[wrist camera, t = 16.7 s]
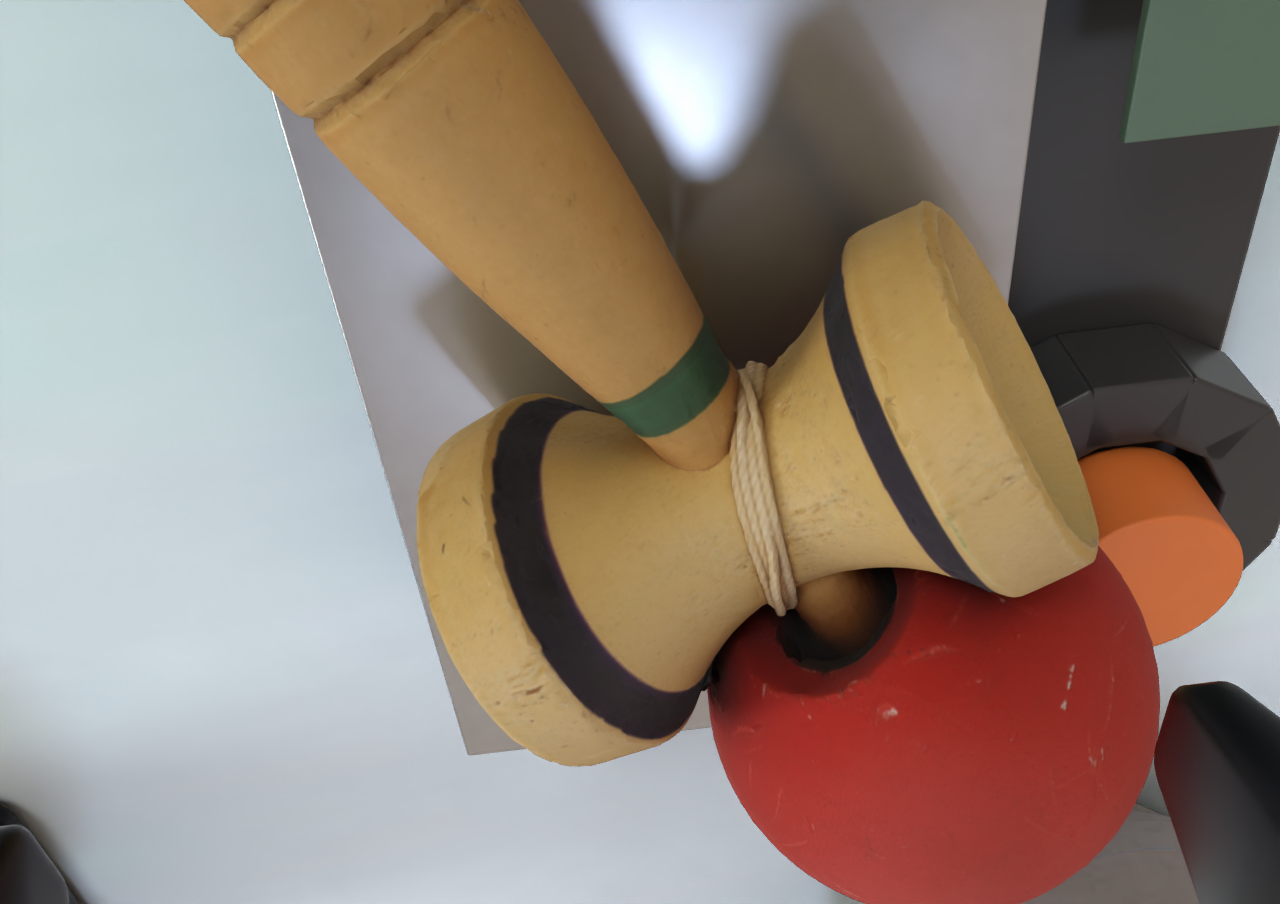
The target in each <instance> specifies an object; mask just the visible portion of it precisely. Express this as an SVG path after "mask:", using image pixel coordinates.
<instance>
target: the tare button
mask: <svg viewBox="0 0 1280 904" xmlns="http://www.w3.org/2000/svg"><path fill="white" fill-rule="evenodd" d="M1077 461H1078V463H1079V466H1080V468H1081V471H1082V474H1083V476H1084V479H1085V481H1086V485H1087V488H1088V493H1089V495H1090V498H1091V503H1092V506H1093V510H1094V513H1095V517H1096V521H1097V526H1098V530H1099V537H1098V538H1099V544H1098V545H1099V546H1100V548H1101V549H1102V550H1103V551H1104V552H1105V554H1106V555H1107V556H1108V557H1109V559H1110V560H1111V561H1112V563H1113V564H1114V566H1115V567H1116V568H1117V570H1118V571H1119V572H1120V574H1121V575H1122V577H1123V579H1124V581H1125V582H1126V584H1127V585H1128V587H1129V589H1130V591H1131V593H1132V594H1133V596H1134V598H1135V600H1136V602H1137V604H1138V606H1139V608H1140V610H1141V612H1142V615H1143V618H1144V620H1145V623H1146V626H1147V629H1148V632H1149V635H1150V637H1151V640H1152V642H1153V646H1156V645H1159V644H1162V643H1166V642H1168V641H1170V640H1173V639H1175V638H1178V637H1180V636H1182V635H1184V634H1186V633H1188V632H1189V631H1191V630H1193V629H1194V628H1196V627H1198V626H1199V625H1201V624H1202V623H1203V622H1205V621H1206V620H1208V619H1209V618H1210V617H1211V616H1212V615H1214V614H1215V613H1216V612H1217V611H1218V610H1219V609H1220V608H1221V607H1222V606H1223V605H1224V604H1225V603H1226V601H1227V600H1228V599H1229V598H1230V596H1231V595H1232V593H1233V592H1234V590H1235V588H1236V587H1237V585H1238V582H1239V580H1240V578H1241V574H1242V570H1243V552H1242V548H1241V545H1240V542H1239V541H1238V539H1237V537H1236V536H1235V534H1234V533H1233V532H1232V530H1231V529H1230V527H1229V526H1228V524H1227V523H1226V522H1225V520H1224V519H1223V517H1222V516H1221V514H1220V513H1219V512H1218V510H1217V509H1216V507H1215V506H1214V505H1213V503H1212V502H1211V500H1210V499H1209V497H1208V496H1207V495H1206V493H1205V492H1204V490H1203V489H1202V487H1201V486H1200V485H1199V483H1198V482H1197V480H1196V479H1195V477H1194V476H1193V475H1192V473H1191V472H1190V470H1189V469H1188V467H1187V466H1186V465H1185V464H1184V463H1183V462H1182V461H1180V460H1179V459H1177V458H1176V457H1174V456H1172V455H1170V454H1168V453H1166V452H1164V451H1160V450H1157V449H1154V448H1147V447H1136V446H1129V447H1118V448H1112V449H1106V450H1103V451H1099V452H1095V453H1092V454H1090V455H1087V456H1084V457H1082V458H1080V459H1078V460H1077Z"/></svg>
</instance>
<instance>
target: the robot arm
mask: <svg viewBox="0 0 1280 904" xmlns="http://www.w3.org/2000/svg"><path fill="white" fill-rule="evenodd" d="M1154 765H1155V771H1156V776H1157V780H1158V783H1159V786H1160V789H1161V792H1162V795H1163V798H1164V801H1165V804H1166V806H1167V809H1168V812H1169V815H1170V818H1171V821H1172V824H1173V827H1174V830H1175V833H1176V836H1177V839H1178V842H1179V845H1180V848H1181V851H1182V854H1183V857H1184V860H1185V863H1186V865H1187V868H1188V871H1189V874H1190V877H1191V880H1192V883H1193V886H1194V889H1195V892H1196V895H1197V898H1198V901H1199V904H1280V717H1278V716H1277V715H1276V714H1274V713H1273V712H1272V711H1271V710H1269V709H1268V708H1267V707H1265V706H1264V705H1263V704H1261V703H1260V702H1259V701H1257V700H1256V699H1255V698H1253V697H1252V696H1251V695H1249V694H1248V693H1247V692H1245V691H1244V690H1243V689H1241V688H1240V687H1238V686H1236V685H1234V684H1232V683H1229V682H1223V681H1217V682H1208V683H1200V684H1192V685H1184V686H1180V687H1179V688H1177V689H1176V690H1175V691H1174V692H1173V693H1172V695H1171V698H1170V701H1169V704H1168V707H1167V710H1166V713H1165V717H1164V720H1163V723H1162V726H1161V730H1160V733H1159V736H1158V739H1157V743H1156V746H1155V751H1154ZM0 904H80V903H79V902H78V901H77V899H76V898H75V897H74V895H73V894H72V893H71V891H70V890H69V889H68V887H67V886H66V883H65V880H64V878H63V876H62V875H61V873H60V872H59V871H58V869H57V868H56V866H55V865H54V864H53V862H52V861H51V859H50V858H49V857H48V855H47V854H46V852H45V851H44V850H43V848H42V847H41V846H40V844H39V843H38V841H37V840H36V839H35V837H34V836H33V834H32V833H31V832H30V831H29V830H28V829H27V828H25V827H23V826H22V825H21V823H20V822H19V821H18V819H17V818H16V816H15V815H14V814H13V813H12V812H11V811H10V810H9V809H8V808H6V807H4V806H2V805H0Z"/></svg>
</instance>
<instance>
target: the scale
mask: <svg viewBox="0 0 1280 904" xmlns="http://www.w3.org/2000/svg"><path fill="white" fill-rule="evenodd" d="M1142 5H1143V0H1047V6H1046V14H1045V21H1044V29H1043V37H1042V45H1041V52H1040V60H1039V68H1038V76H1037V84H1036V91H1035V99H1034V107H1033V115H1032V122H1031V130H1030V138H1029V146H1028V153H1027V161H1026V169H1025V177H1024V185H1023V192H1022V200H1021V208H1020V216H1019V223H1018V231H1017V239H1016V247H1015V254H1014V262H1013V270H1012V278H1011V286H1010V293H1009V301H1008V307H1009V309H1010V311H1011V312H1012V314H1013V315H1014V317H1015V319H1016V322H1017V324H1018V326H1019V328H1020V330H1021V331H1022V333H1023V335H1024V337H1025V339H1026V341H1027V343H1028V345H1029V346H1030V349H1031V351H1032V353H1033V355H1034V357H1035V360H1036V362H1037V364H1038V366H1039V369H1040V371H1041V373H1042V375H1043V377H1044V379H1045V381H1046V383H1047V385H1048V388H1049V390H1050V393H1051V395H1052V397H1053V400H1054V402H1055V405H1056V407H1057V410H1058V412H1059V414H1060V416H1061V418H1062V421H1063V423H1064V426H1065V428H1066V430H1067V433H1068V435H1069V437H1070V440H1071V443H1072V446H1073V448H1074V451H1075V454H1076V457H1077V460H1078V459H1080V458H1082V457H1084V456H1087V455H1090V454H1092V453H1095V452H1099V451H1103V450H1106V449H1112V448H1118V447H1129V446H1136V447H1147V448H1154V449H1157V450H1160V451H1164V452H1166V453H1168V454H1170V455H1172V456H1174V457H1176V458H1177V459H1179V460H1180V461H1182V462H1183V463H1184V464H1185V465H1186V466H1187V467H1188V469H1189V470H1190V472H1191V473H1192V475H1193V476H1194V477H1195V479H1196V480H1197V482H1198V483H1199V485H1200V486H1201V487H1202V489H1203V490H1204V492H1205V493H1206V495H1207V496H1208V497H1209V499H1210V500H1211V502H1212V503H1213V505H1214V506H1215V507H1216V509H1217V510H1218V512H1219V513H1220V514H1221V516H1222V517H1223V519H1224V520H1225V522H1226V523H1227V524H1228V526H1229V527H1230V529H1231V530H1232V532H1233V533H1234V534H1235V536H1236V537H1237V539H1238V541H1239V542H1240V545H1241V548H1242V552H1243V570H1244V569H1245V568H1246V567H1247V566H1248V565H1249V564H1250V563H1251V562H1252V561H1253V560H1255V559H1256V558H1257V557H1258V556H1259V555H1260V554H1261V553H1262V552H1263V551H1264V550H1265V549H1266V548H1267V547H1268V546H1269V545H1270V544H1271V542H1272V539H1274V538H1275V536H1276V533H1277V530H1278V528H1279V525H1280V424H1279V422H1278V420H1277V417H1276V415H1275V413H1274V411H1273V409H1272V408H1271V407H1270V405H1269V404H1268V403H1267V402H1266V401H1265V399H1264V398H1263V397H1262V396H1261V395H1260V393H1259V392H1258V391H1257V390H1256V389H1255V388H1254V386H1253V385H1252V384H1251V383H1250V382H1249V380H1248V379H1247V378H1246V377H1245V376H1244V375H1243V373H1242V372H1241V371H1240V370H1239V369H1238V367H1237V366H1236V365H1235V364H1234V363H1233V362H1232V360H1231V359H1230V358H1229V357H1228V356H1227V355H1226V354H1225V353H1223V352H1221V351H1220V350H1221V346H1222V342H1223V339H1224V335H1225V331H1226V327H1227V324H1228V320H1229V316H1230V313H1231V309H1232V305H1233V302H1234V298H1235V294H1236V291H1237V287H1238V283H1239V279H1240V276H1241V272H1242V268H1243V265H1244V261H1245V257H1246V254H1247V250H1248V246H1249V242H1250V239H1251V235H1252V231H1253V228H1254V224H1255V220H1256V217H1257V213H1258V209H1259V206H1260V202H1261V198H1262V194H1263V191H1264V187H1265V183H1266V180H1267V176H1268V172H1269V169H1270V165H1271V161H1272V157H1273V154H1274V150H1275V146H1276V143H1277V139H1278V135H1279V132H1280V125H1279V126H1271V127H1262V128H1253V129H1245V130H1236V131H1227V132H1219V133H1210V134H1202V135H1193V136H1184V137H1176V138H1167V139H1159V140H1150V141H1141V142H1133V143H1124V142H1123V141H1122V140H1121V139H1120V138H1119V133H1120V128H1121V122H1122V117H1123V111H1124V106H1125V100H1126V94H1127V89H1128V83H1129V78H1130V72H1131V67H1132V61H1133V55H1134V50H1135V44H1136V39H1137V33H1138V28H1139V22H1140V17H1141V11H1142ZM1243 570H1242V571H1243Z"/></svg>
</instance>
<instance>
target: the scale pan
mask: <svg viewBox="0 0 1280 904" xmlns="http://www.w3.org/2000/svg"><path fill="white" fill-rule="evenodd" d="M518 1H519V2H520V4H521V5H522V7H523V8H524V10H525V11H526V13H527V14H528V16H529V17H530V19H531V21H532V22H533V24H534V25H535V27H536V28H537V30H538V31H539V33H540V34H541V36H542V37H543V39H544V40H545V42H546V43H547V45H548V46H549V48H550V49H551V51H552V53H553V54H554V56H555V57H556V59H557V60H558V62H559V64H560V65H561V67H562V68H563V70H564V71H565V73H566V74H567V76H568V78H569V79H570V81H571V82H572V84H573V86H574V87H575V89H576V91H577V92H578V94H579V95H580V97H581V99H582V100H583V102H584V104H585V105H586V107H587V108H588V110H589V111H590V113H591V115H592V116H593V118H594V120H595V122H596V123H597V125H598V127H599V128H600V130H601V132H602V134H603V135H604V137H605V138H606V140H607V142H608V143H609V145H610V147H611V149H612V151H613V152H614V154H615V155H616V157H617V158H618V160H619V162H620V163H621V165H622V167H623V168H624V171H625V173H626V174H627V176H628V178H629V179H630V181H631V183H632V184H633V186H634V187H635V189H636V191H637V193H638V195H639V197H640V198H641V200H642V202H643V204H644V205H645V207H646V209H647V210H648V212H649V214H650V216H651V218H652V220H653V221H654V223H655V225H656V227H657V229H658V230H659V232H660V233H661V235H662V237H663V239H664V242H665V244H666V246H667V248H668V250H669V252H670V253H671V255H672V257H673V258H674V260H675V262H676V264H677V265H678V267H679V269H680V271H681V273H682V275H683V277H684V279H685V280H686V282H687V284H688V286H689V287H690V289H691V291H692V293H693V295H694V297H695V299H696V301H697V303H698V305H699V307H700V308H701V310H702V311H703V313H704V315H705V316H706V318H707V320H708V322H709V325H710V326H711V329H712V331H713V333H714V334H715V337H716V339H717V342H718V345H719V347H720V349H721V350H722V352H723V353H724V354H725V356H726V357H727V358H728V359H729V360H730V361H731V362H732V364H733V365H734V367H735V369H737V370H739V369H744V368H745V367H746V364H747V363H748V361H754V362H756V363H763V364H765V365H767V367H768V368H770V367H771V366H773V365H774V364H775V362H776V360H777V359H778V357H779V356H781V355H782V354H783V353H784V352H785V351H786V350H787V348H788V347H789V346H790V345H791V344H792V343H793V342H795V341H796V340H797V338H798V337H799V336H800V335H801V333H802V332H803V331H804V330H805V328H806V326H807V325H808V323H809V322H810V320H811V319H812V317H813V316H814V314H815V313H816V311H817V309H818V307H819V306H820V303H821V301H822V299H823V297H824V295H825V293H826V290H827V288H828V286H829V285H830V282H831V280H832V278H833V275H834V273H835V270H836V267H837V265H838V262H839V260H840V257H841V255H842V253H843V250H844V246H845V244H846V242H847V240H848V238H850V237H851V236H852V235H854V234H855V233H856V232H858V231H859V230H861V229H863V228H865V227H867V226H869V225H872V224H874V223H876V222H878V221H880V220H883V219H885V218H888V217H890V216H892V215H894V214H897V213H899V212H902V211H904V210H906V209H908V208H910V207H914V206H916V205H918V204H919V203H920V202H921V201H922V200H923V201H927V202H929V201H931V202H932V203H933V204H934V205H935V206H938V207H940V208H942V209H943V210H945V212H946V213H948V214H949V215H950V216H951V217H952V218H953V220H954V221H955V222H956V223H957V225H958V226H959V227H960V228H961V230H962V231H963V233H964V234H965V236H966V237H967V239H968V240H969V241H970V243H971V244H972V246H973V247H974V248H975V250H976V252H977V255H978V257H979V258H980V259H981V260H982V262H983V263H984V265H985V267H986V268H987V269H988V271H989V272H990V274H991V276H992V277H993V279H994V280H995V282H996V284H997V286H998V288H999V290H1000V293H1001V295H1002V296H1003V297H1004V298H1005V300H1006V302H1007V304H1008V301H1009V293H1010V286H1011V278H1012V270H1013V262H1014V254H1015V247H1016V239H1017V231H1018V223H1019V216H1020V208H1021V200H1022V192H1023V185H1024V177H1025V169H1026V161H1027V153H1028V146H1029V138H1030V130H1031V122H1032V115H1033V107H1034V99H1035V91H1036V84H1037V76H1038V68H1039V60H1040V52H1041V45H1042V37H1043V29H1044V21H1045V14H1046V6H1047V0H518ZM270 90H271V89H270ZM271 93H272V96H273V100H274V103H275V107H276V110H277V113H278V117H279V120H280V123H281V127H282V130H283V134H284V137H285V140H286V144H287V147H288V150H289V154H290V157H291V160H292V164H293V167H294V171H295V174H296V177H297V181H298V184H299V187H300V191H301V194H302V198H303V201H304V204H305V208H306V211H307V214H308V218H309V221H310V225H311V228H312V231H313V235H314V238H315V241H316V245H317V248H318V252H319V255H320V258H321V262H322V265H323V268H324V272H325V275H326V279H327V282H328V285H329V289H330V292H331V295H332V299H333V302H334V306H335V309H336V312H337V316H338V319H339V322H340V326H341V329H342V333H343V336H344V339H345V343H346V346H347V349H348V353H349V356H350V359H351V363H352V366H353V370H354V373H355V376H356V380H357V383H358V386H359V390H360V393H361V397H362V400H363V403H364V407H365V410H366V413H367V417H368V420H369V424H370V427H371V430H372V434H373V437H374V440H375V444H376V447H377V451H378V454H379V457H380V461H381V464H382V467H383V471H384V474H385V478H386V481H387V484H388V488H389V491H390V494H391V498H392V501H393V505H394V508H395V511H396V515H397V518H398V521H399V525H400V528H401V531H402V535H403V538H404V542H405V545H406V548H407V552H408V555H409V558H410V562H411V565H412V569H413V572H414V575H415V579H416V582H417V585H418V589H419V592H420V596H421V599H422V602H423V606H424V609H425V612H426V616H427V619H428V623H429V626H430V629H431V633H432V636H433V639H434V643H435V646H436V650H437V653H438V656H439V660H440V663H441V666H442V670H443V673H444V677H445V680H446V683H447V687H448V690H449V693H450V697H451V700H452V704H453V707H454V710H455V714H456V717H457V720H458V724H459V727H460V730H461V734H462V737H463V741H464V744H465V747H466V751H467V754H468V755H477V754H486V753H494V752H503V751H511V750H520V749H527V748H525V747H524V746H522V745H520V744H519V743H517V742H515V741H514V740H512V739H511V738H510V737H509V736H508V735H507V734H506V733H505V732H504V731H503V730H502V729H501V728H500V727H499V726H498V725H497V724H496V723H495V722H494V721H493V719H492V718H491V717H490V716H489V715H488V713H487V712H486V711H485V710H484V709H483V707H482V706H481V705H480V704H479V702H478V701H477V699H476V698H475V697H474V695H473V694H472V692H471V690H470V689H469V688H468V686H467V685H466V683H465V682H464V680H463V678H462V677H461V675H460V673H459V672H458V670H457V668H456V667H455V665H454V663H453V661H452V660H451V658H450V656H449V654H448V652H447V649H446V647H445V644H444V642H443V640H442V637H441V635H440V633H439V631H438V628H437V625H436V622H435V620H434V617H433V615H432V612H431V608H430V605H429V601H428V598H427V594H426V591H425V588H424V585H423V580H422V576H421V570H420V564H419V558H418V550H417V503H418V491H419V488H420V484H421V481H422V477H423V474H424V472H425V469H426V467H427V465H428V463H429V461H430V460H431V458H432V457H433V455H434V454H435V452H436V451H437V450H438V448H439V447H440V446H441V445H442V444H443V443H444V442H445V441H446V440H448V439H449V438H450V437H451V436H452V435H454V434H455V433H457V432H458V431H460V430H461V429H463V428H464V427H466V426H468V425H470V424H471V423H473V422H475V421H476V420H478V419H480V418H481V417H483V416H485V415H486V414H488V413H490V412H491V411H493V410H495V409H496V408H498V407H499V406H501V405H503V404H505V403H506V402H508V401H509V400H511V399H513V398H516V397H518V396H522V395H526V394H533V393H542V394H550V395H554V396H558V397H561V398H564V399H566V400H569V401H571V402H573V403H575V404H577V405H579V406H583V407H584V408H586V409H590V410H593V411H595V412H598V413H599V414H603V415H608V416H614V415H613V414H612V413H611V412H610V411H609V410H607V409H606V408H605V407H604V406H602V405H601V404H600V403H599V402H597V401H596V399H595V398H594V397H592V396H591V395H590V394H589V393H587V392H586V391H585V390H584V389H583V388H582V387H581V386H580V385H578V384H577V383H576V382H574V381H573V380H572V379H571V378H570V377H569V376H568V375H567V374H565V373H564V372H563V371H562V370H561V369H560V368H559V367H557V366H556V365H555V364H554V363H553V362H552V361H551V360H550V359H548V358H547V357H546V356H545V355H544V354H543V353H542V352H541V351H540V350H538V349H537V348H536V347H535V346H534V345H533V344H532V343H531V342H530V341H529V340H527V339H526V338H525V337H524V336H523V335H521V334H520V333H519V332H518V331H517V330H515V329H514V328H513V327H512V326H511V325H510V324H509V323H508V322H506V321H505V320H504V319H503V318H502V317H501V316H500V315H498V314H497V313H496V312H495V311H494V310H493V309H492V308H491V307H490V306H488V305H487V304H486V303H485V302H484V301H483V300H482V299H481V298H480V297H479V296H477V295H476V294H475V293H474V292H473V291H472V290H470V289H469V288H468V287H467V286H466V285H465V284H464V283H463V282H462V281H461V280H460V279H459V278H458V277H457V276H456V275H455V274H454V273H453V272H452V271H450V270H449V269H448V268H447V267H446V266H445V265H444V264H443V263H442V262H441V261H440V260H439V259H438V258H437V257H436V256H435V255H434V254H433V253H432V252H431V251H430V250H429V249H428V248H427V247H425V246H424V245H423V244H422V243H421V242H420V241H419V240H418V239H417V238H416V237H415V236H414V235H413V234H412V233H411V232H410V231H409V230H408V229H407V228H406V227H405V226H404V225H403V224H402V223H401V222H400V221H399V220H398V219H397V218H396V217H395V216H394V215H393V214H392V213H391V212H390V211H389V210H388V209H387V208H386V207H385V206H384V205H383V204H382V203H381V202H380V201H379V200H378V199H377V198H376V197H375V196H374V195H373V194H372V193H371V192H370V191H369V190H368V189H367V188H366V187H365V186H364V185H363V184H362V183H361V182H360V181H359V180H358V179H357V178H356V177H355V176H354V175H353V174H352V173H351V172H350V171H349V170H348V169H347V168H346V166H345V165H344V164H343V163H342V162H341V161H340V160H339V159H338V158H337V157H336V156H335V155H334V154H333V153H332V152H331V151H330V150H329V149H328V148H327V147H326V145H325V144H324V143H323V142H322V141H321V139H320V138H319V137H318V136H317V135H316V133H315V129H314V121H313V119H311V118H305V117H300V116H298V115H297V114H295V113H294V112H293V111H291V110H290V109H289V108H288V107H287V106H286V105H285V103H284V102H283V101H282V100H281V99H280V98H279V97H278V96H277V95H276V94H275V93H274V92H273V91H272V90H271ZM707 727H712V725H711V721H710V713H709V703H708V694H707V690H706V691H701V693H700V696H699V698H698V701H697V704H696V707H695V709H694V711H693V713H692V715H691V717H690V718H689V720H688V722H687V723H686V725H685V726H684V727H683V728H682V730H690V729H699V728H707ZM682 730H681V731H682Z"/></svg>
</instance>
